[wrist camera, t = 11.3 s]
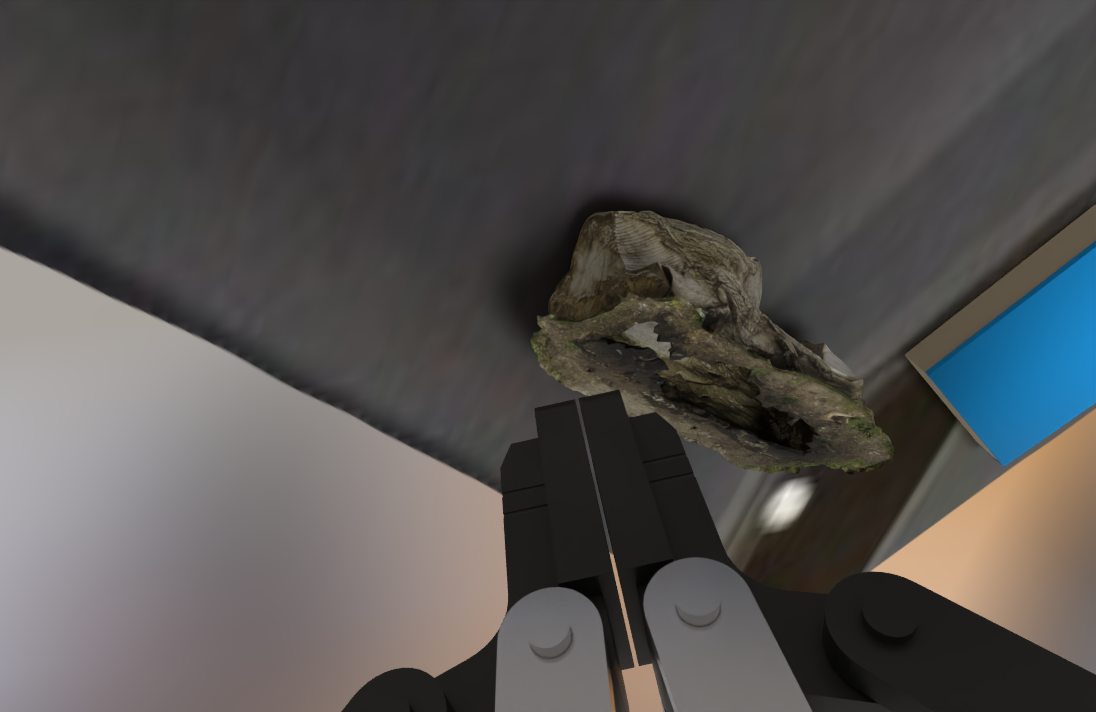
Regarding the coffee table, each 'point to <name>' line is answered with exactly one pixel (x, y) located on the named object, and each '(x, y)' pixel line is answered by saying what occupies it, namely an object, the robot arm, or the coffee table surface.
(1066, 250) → the book
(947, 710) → the robot arm
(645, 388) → the weathered driftwood
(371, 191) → the coffee table surface
